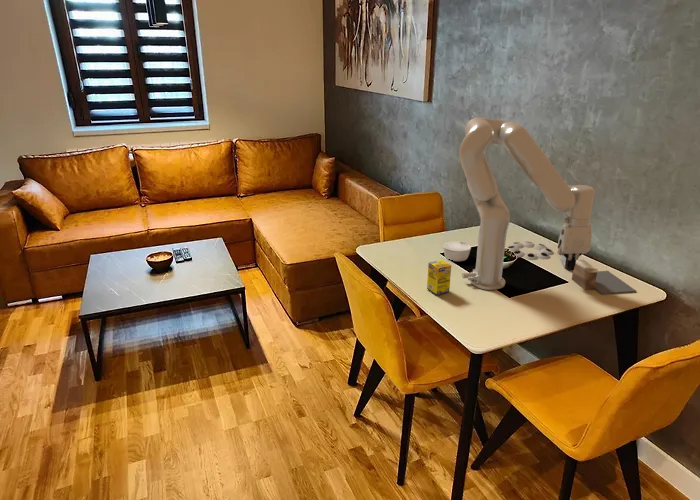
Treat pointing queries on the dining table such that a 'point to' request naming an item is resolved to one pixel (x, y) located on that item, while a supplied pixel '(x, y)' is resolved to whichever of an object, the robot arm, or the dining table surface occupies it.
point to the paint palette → (540, 247)
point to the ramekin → (456, 250)
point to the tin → (563, 260)
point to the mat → (610, 284)
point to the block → (584, 275)
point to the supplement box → (439, 277)
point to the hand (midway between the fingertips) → (569, 268)
